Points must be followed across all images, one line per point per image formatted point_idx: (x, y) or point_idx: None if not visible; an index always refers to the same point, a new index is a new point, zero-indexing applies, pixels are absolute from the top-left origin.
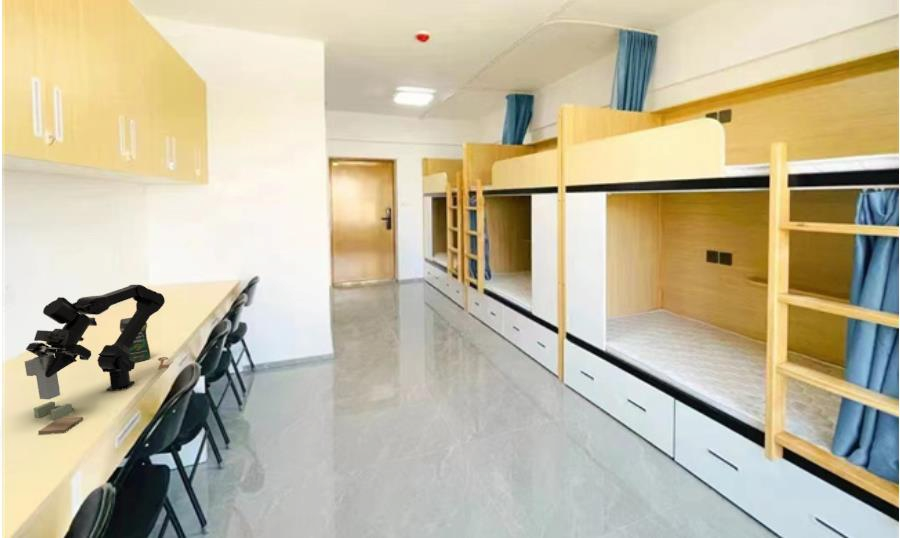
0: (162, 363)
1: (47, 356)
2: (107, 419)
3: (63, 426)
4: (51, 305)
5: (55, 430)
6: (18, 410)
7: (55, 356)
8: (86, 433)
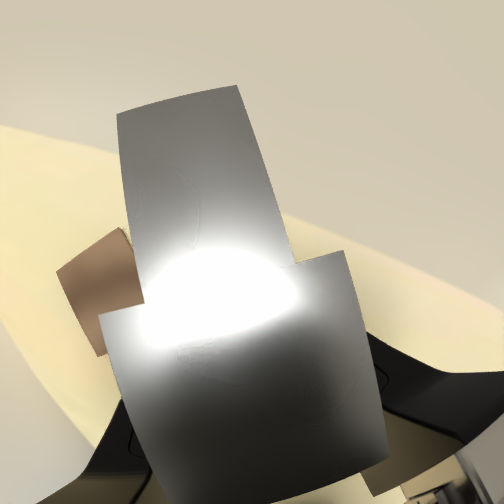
0: None
1: (176, 435)
2: (44, 379)
3: (78, 282)
4: None
5: (76, 256)
6: (415, 291)
7: (122, 492)
8: (12, 295)
